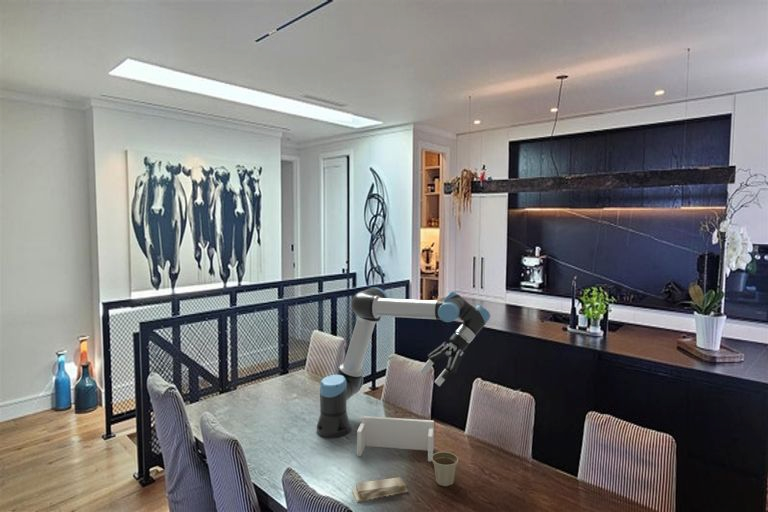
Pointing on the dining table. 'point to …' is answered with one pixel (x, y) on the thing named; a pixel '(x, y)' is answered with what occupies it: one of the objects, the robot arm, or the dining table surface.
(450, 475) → the flower pot
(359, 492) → the offcut stack
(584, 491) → the dining table surface
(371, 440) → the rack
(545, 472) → the dining table surface
